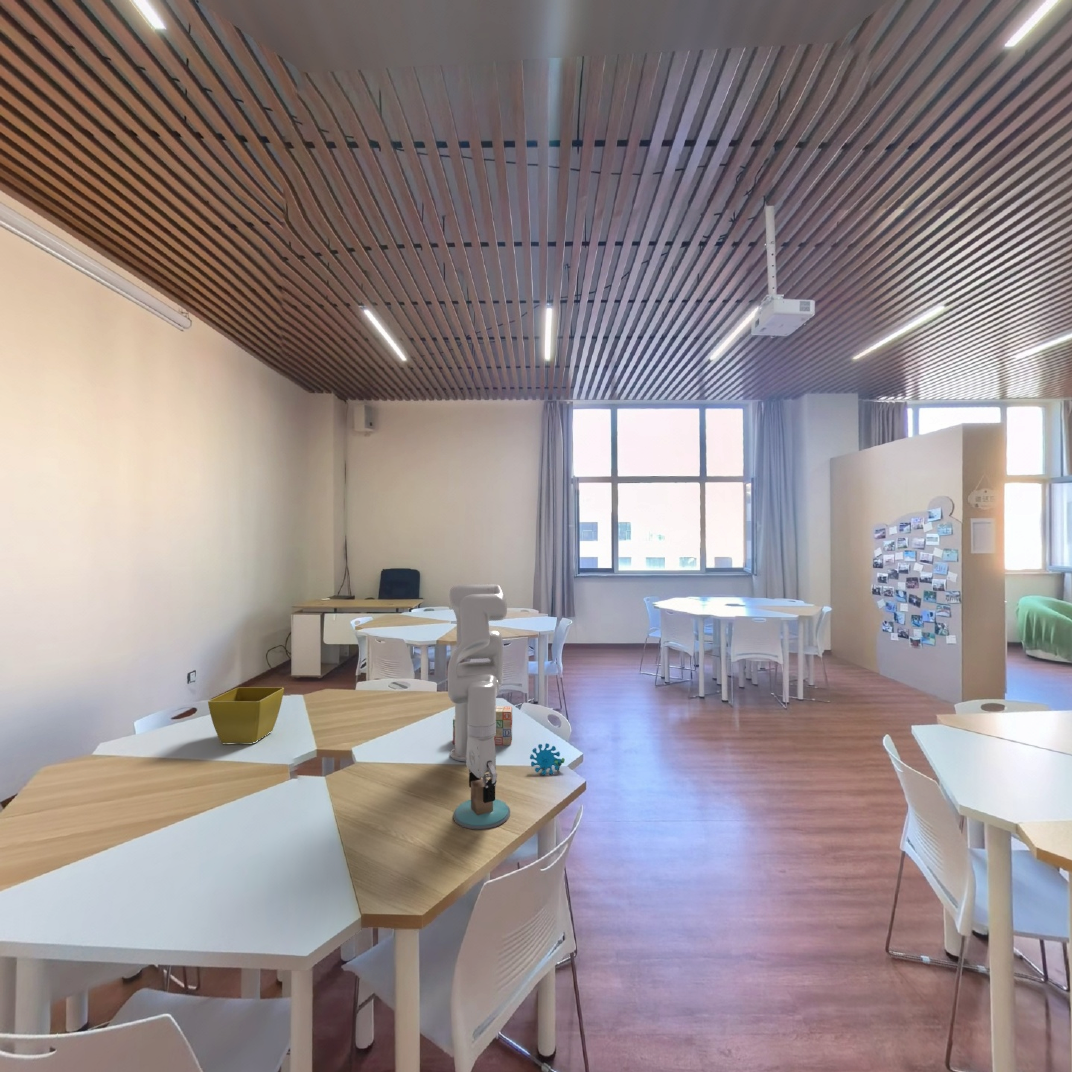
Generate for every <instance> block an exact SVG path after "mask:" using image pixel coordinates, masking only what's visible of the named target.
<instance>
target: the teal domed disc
mask: <svg viewBox="0 0 1072 1072" xmlns="http://www.w3.org/2000/svg"><path fill="white" fill-rule="evenodd" d="M510 816H511V809H510V806H508V804H506V802H504V800H503V801H502V800H501V799H497V798H495V801H493V811H492V812H489V813H485V814H481V815H476V814H475V812H474V811H473V810H472V809H471V799H468V800H465V801H464V802H462V803H460V804H459V805H458V806H456V808H455V809H454V810H453V820H454V822H455V823H456V824H457V825H458V826H460V827H462V828H465V829H468V830H475V831H476V830H482V831H483V830H490V829H494V828H497V827H499V826H501V825H503V824H504V823H506V822H507V821H508V820H509V818H510Z"/></svg>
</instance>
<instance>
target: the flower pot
mask: <svg viewBox="0 0 1072 1072" xmlns="http://www.w3.org/2000/svg"><path fill="white" fill-rule="evenodd" d="M284 690H285V688H284V687H278V686H277V687H270V686H269V687H266V686H264V687H263V686H262V687H261V686H260V687H259V686H257V687H256V686H253V687H252V686H249V687H247V686H246V687H245V686H244V687H243V686H241V687H239V686H238V687H236V688H234V689H231V690H229V691H227V692H224V693H222V694H220V695H218V696H216V697H214V698H212V699H210V700H207V703H208V709H209V714H210V717H211V718H210V719H211V721H212V724H213V727H214V729H215V732H216V735H217V737H218V739H219V741H220V743H221V744H222V743H253V742H256V741H257V740H259V739H261V738H262V737H264V736H265V735H267V734H268V733H269V732H271V731H272V732H273V731H274V728H275V726H276V724H277V719H278V717H279V713H280V709H281V707H282V702H283V697H284V692H285V691H284ZM267 736H268V735H267ZM264 738H265V737H264Z"/></svg>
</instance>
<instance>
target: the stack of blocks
mask: <svg viewBox="0 0 1072 1072" xmlns="http://www.w3.org/2000/svg"><path fill="white" fill-rule="evenodd" d="M494 741H495V746H511V745H512V741H513V706H504V705H499V706H498V705H496V735H495V736H494ZM452 745H455V716H454V717H453V719H452Z"/></svg>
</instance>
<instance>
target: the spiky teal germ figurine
mask: <svg viewBox="0 0 1072 1072" xmlns="http://www.w3.org/2000/svg"><path fill="white" fill-rule="evenodd" d="M537 747H538V749H539V752H537V748H536V747H534V748H533V749H532V754H530V756H529V759H530V760H531V763H530V767H532V768H533V767H535V766H539V767H535V768H534V771H535V773H539V772H540V770H541V775H543V776H546V774H547V770H548V769H549V770H548V774H549V775H553V774H554V771H553V768H552V767H553V766H554V770H555V771H558V770H559V769H560V767H561V766H562V764H564V763H565V758H564V757H562V758H558V757H560V756H561V752H560V751H556V750H557V747H556V746H555V745H553V746H552V747H550V744H549V743H545V744H544V749H542V748H543V744H542V743H541V744H540V743H539V744H537ZM549 748H550V749H549ZM552 751H553V752H552ZM554 751H556V752H554ZM533 753H534V754H533ZM534 755H536V757H535V756H534ZM533 760H534V761H533ZM535 761H536V762H535ZM542 769H543V770H542Z"/></svg>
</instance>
